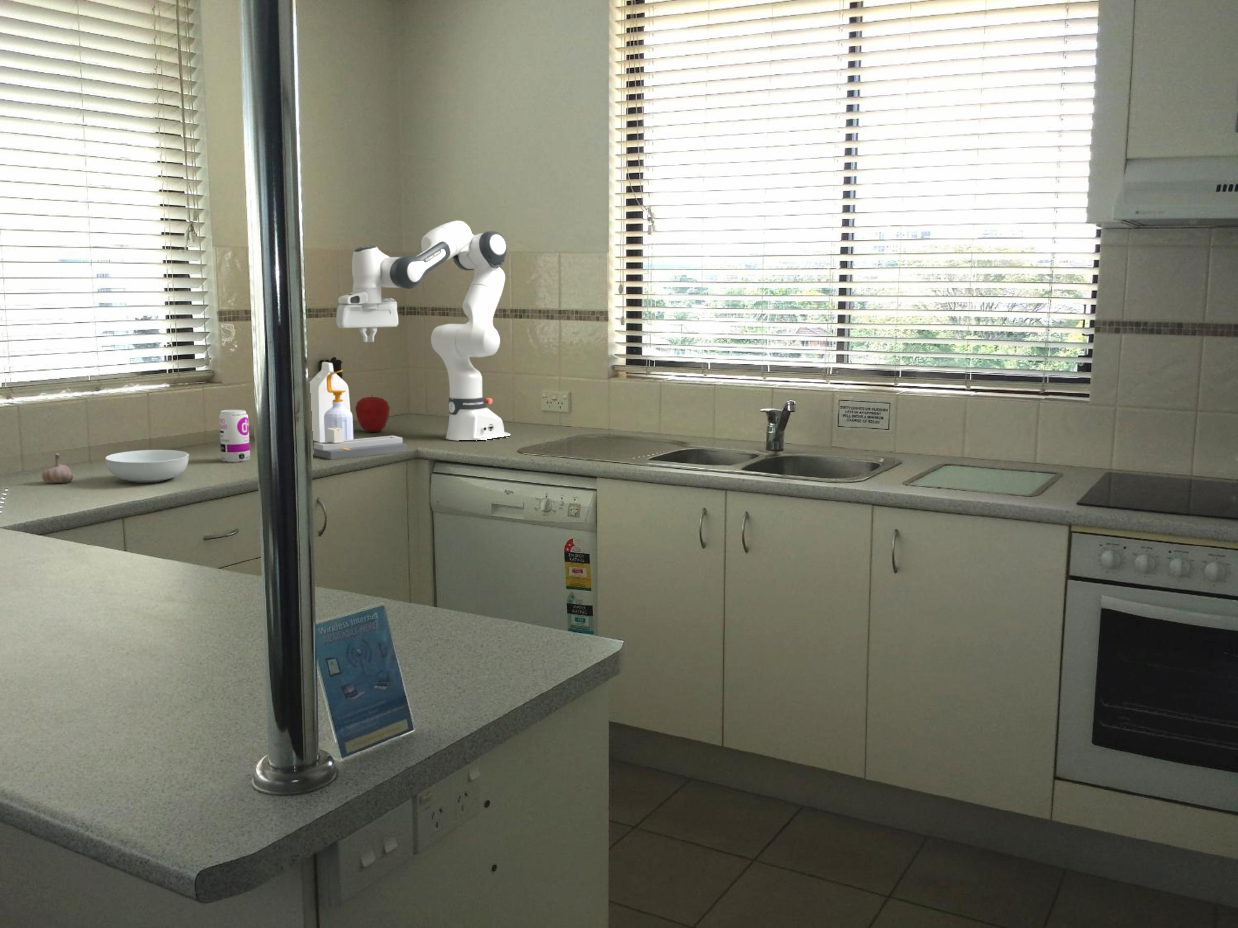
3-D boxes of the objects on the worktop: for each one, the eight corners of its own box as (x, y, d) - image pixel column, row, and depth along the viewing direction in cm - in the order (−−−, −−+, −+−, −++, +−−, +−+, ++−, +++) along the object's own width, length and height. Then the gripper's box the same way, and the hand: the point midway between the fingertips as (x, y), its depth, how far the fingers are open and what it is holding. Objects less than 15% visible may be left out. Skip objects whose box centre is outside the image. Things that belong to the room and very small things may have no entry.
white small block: (336, 445, 352) (335, 427, 351) (343, 447, 348) (343, 428, 348) (327, 446, 350) (326, 428, 349) (334, 448, 347) (334, 429, 346)
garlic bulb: (78, 483, 302) (76, 453, 300) (49, 486, 296) (47, 456, 295) (66, 479, 306) (64, 450, 305) (37, 483, 301) (35, 453, 300)
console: (387, 446, 369) (387, 434, 368) (409, 451, 358) (408, 439, 358) (309, 454, 352) (308, 441, 351) (329, 459, 341) (328, 446, 340)
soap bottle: (349, 447, 367) (347, 371, 364) (321, 446, 368) (318, 371, 364) (356, 443, 376) (354, 369, 372) (329, 442, 376) (326, 369, 373)
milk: (352, 439, 384) (350, 363, 380) (319, 442, 378) (316, 364, 374) (340, 435, 394) (337, 361, 390) (307, 438, 388) (304, 362, 383)
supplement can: (255, 459, 341) (253, 410, 339) (238, 463, 334) (235, 413, 331) (233, 457, 344) (230, 408, 342) (215, 462, 336) (212, 411, 334)
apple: (349, 432, 403) (348, 395, 400) (373, 429, 412) (372, 392, 410) (372, 435, 396) (371, 397, 394) (397, 431, 405) (396, 394, 403)
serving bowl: (106, 489, 292) (104, 463, 291) (107, 476, 311) (105, 452, 310) (192, 484, 300) (190, 458, 299) (187, 472, 319) (186, 447, 318)
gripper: (391, 297, 367) (393, 340, 369) (333, 298, 354) (334, 342, 356) (401, 298, 362) (402, 341, 364) (342, 298, 349) (344, 343, 351)
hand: (368, 342), depth 360 cm, fingers closed
